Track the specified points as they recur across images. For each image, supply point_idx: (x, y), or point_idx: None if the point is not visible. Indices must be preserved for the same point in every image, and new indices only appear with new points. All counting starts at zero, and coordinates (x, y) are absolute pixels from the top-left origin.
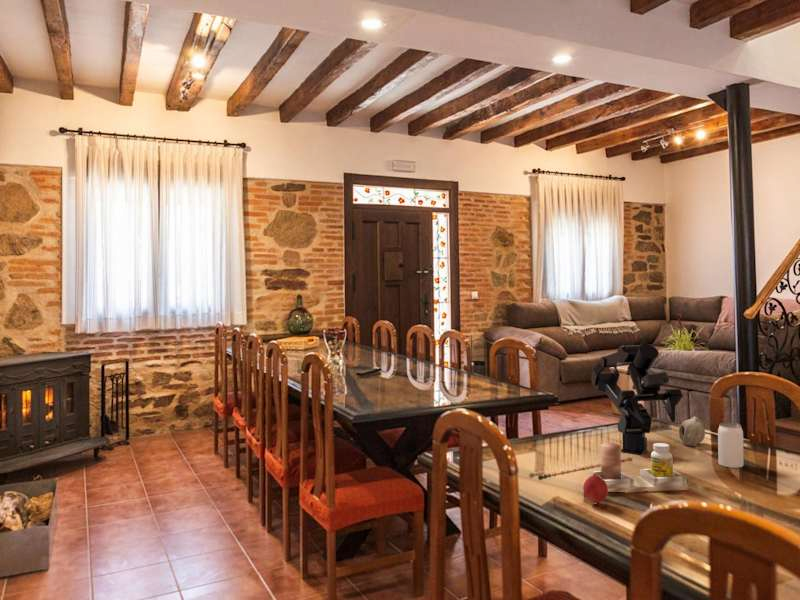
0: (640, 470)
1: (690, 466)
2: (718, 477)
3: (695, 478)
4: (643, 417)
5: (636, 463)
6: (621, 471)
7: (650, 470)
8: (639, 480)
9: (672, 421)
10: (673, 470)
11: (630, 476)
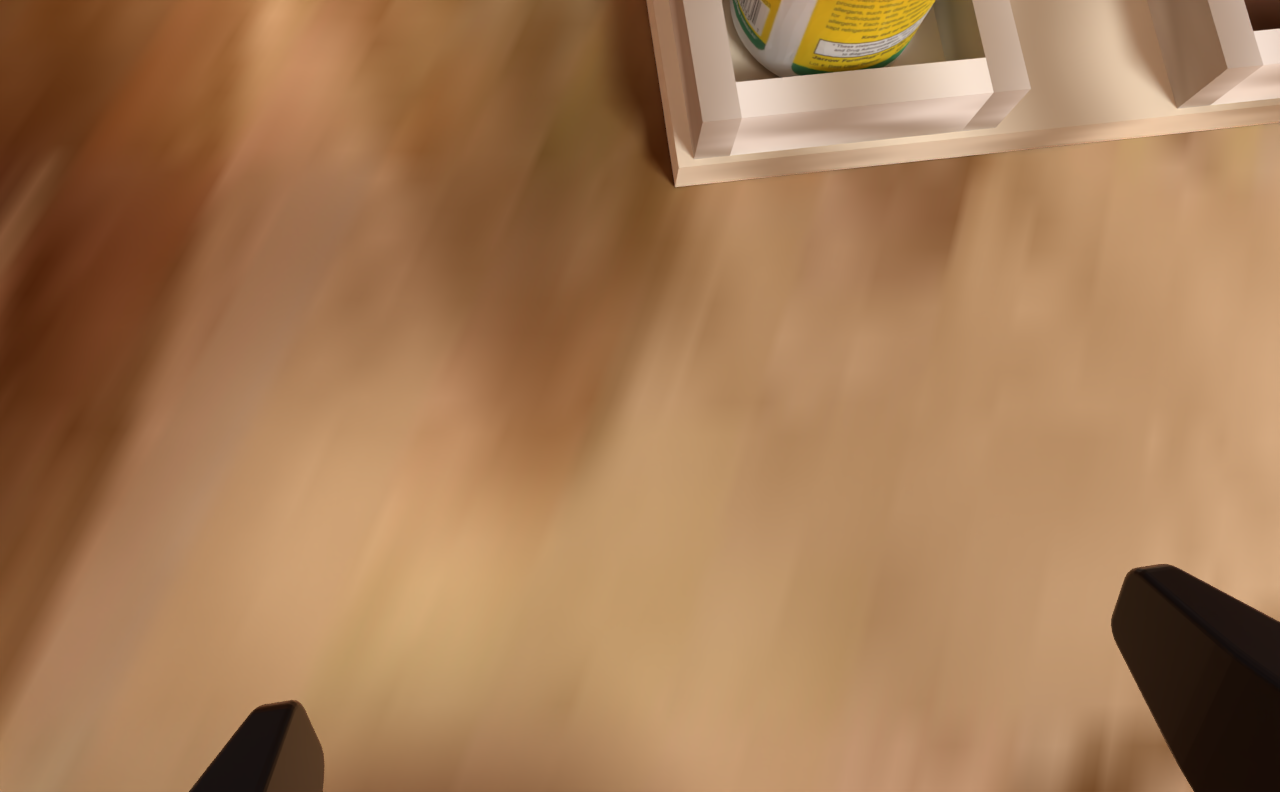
0: (1021, 74)
1: (307, 609)
2: (204, 225)
3: (442, 200)
4: (1228, 633)
5: (875, 734)
6: (1223, 17)
7: (922, 68)
8: (1024, 10)
9: (321, 774)
10: (701, 28)
11: (1082, 122)
